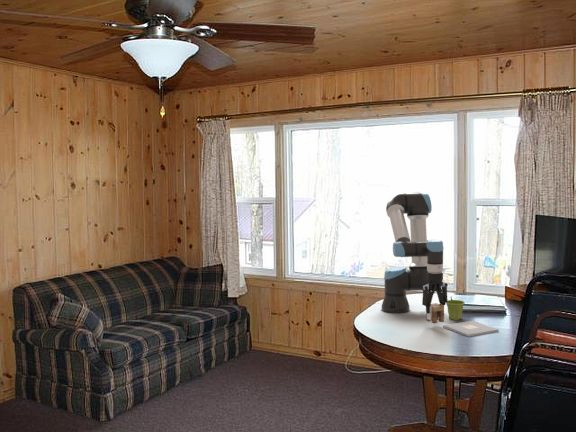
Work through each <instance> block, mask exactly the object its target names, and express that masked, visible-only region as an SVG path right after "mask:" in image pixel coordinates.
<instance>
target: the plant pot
mask: <svg viewBox="0 0 576 432" xmlns="http://www.w3.org/2000/svg"><path fill="white" fill-rule="evenodd" d="M447 300H448V299H447ZM465 303H466V302H465V301H463V300H461V299H449V300H448V302H447V303H446V306H447V311H448V312H447V313H448V319H450V320H453V321H454V320H455V321H459V320H461V319H462V316H463V309H464V306H465Z"/></svg>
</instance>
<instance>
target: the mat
mask: <svg viewBox="0 0 576 432" xmlns="http://www.w3.org/2000/svg"><path fill="white" fill-rule="evenodd" d="M442 328H444V329H447V330H449V331H452V332H455V333H457V334H460V335H463V336H465V337H469V338H470V337H476V336H481V335H487V334H492V333H497V332H499V328H496V327H492V326H490V325H486V324H483V323H481V322H478V321H475V320H468V321H467V320H466V321H462V322H461V321H460V322H454V323H449V324H443V325H442ZM475 335H476V336H475Z"/></svg>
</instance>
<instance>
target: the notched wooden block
mask: <svg viewBox="0 0 576 432" xmlns="http://www.w3.org/2000/svg"><path fill="white" fill-rule="evenodd" d="M430 307H432V320H429V319H427V313H426V312H425V316H426V317H425V318H426V322H431V324H433V325H435V324H438V323H445V305H444V306H443V305H440V303H438V302H437V303H436V302H435V303H431V305H430ZM438 311H439V317H438Z"/></svg>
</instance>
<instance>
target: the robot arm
mask: <svg viewBox="0 0 576 432" xmlns="http://www.w3.org/2000/svg"><path fill="white" fill-rule="evenodd" d="M431 201H432V200H431V196H430V195H429V194H428V192H424V191H423V192H422V191H416V192H413V191H412V192H398V193H395V194H394V195H393V196H391V197H390V198H389V199H388V202H387V204H386V207H385V212H386V215H387V217H388V218H389V220H390V225H391V229H392V232H393V236H394V237H393V238H394V242H393V244H392V254H393V256H394V257H395V258H411V263H410V264H409V265H408V269H407V267H405V266H392V267H389V268H386V269H385V271H384V275H383V276H384V277H383V279H384V297H383V300H382V304H381V310H382V311H383V312H386V313H392V314H402V313H407V312H409V311H410V304H409V301H408V297H407V292H410V291H411V292H413V291H414V292H418V291H420V292H422V301H421V303H422V305H421V306H425V314H426V313H427V319H429V320H432V307H430V305H431V304H432V301H433V297H434V294H435V293H436V295H437V297H438V302H439V303H438V304H440V305H443V306H444V307H445V306H446V305H447V302H448V285H449V284H448V282H445V281H444V282H443V280H444V272H443V271H444V242H443V240H440V239H429V240H428V238H427V218H428V217H429V216H430V215H429V214H431V213H432V211H433V209H432V202H431ZM404 214H406V217H407V218H408V220H409V224H410V226H409V227H410V229H409V230H410V233H409V230H408V227H407V223H406V218H405V215H404ZM438 318H439V311H438Z"/></svg>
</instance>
